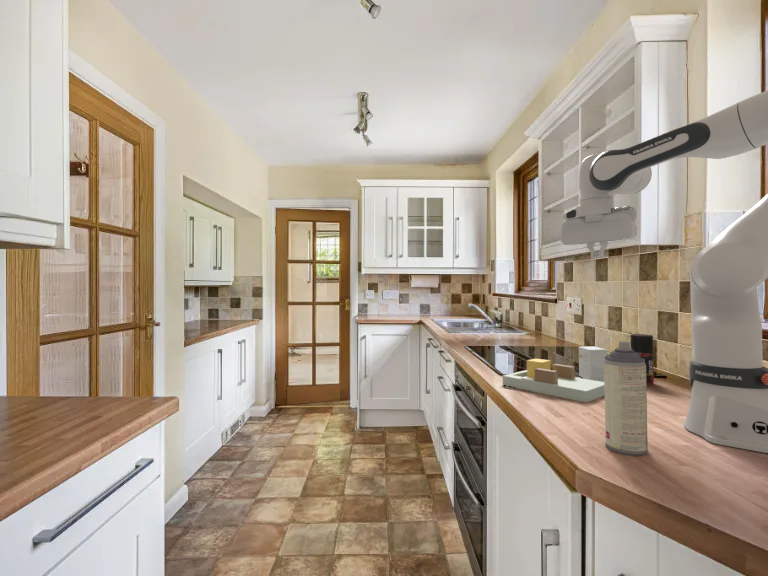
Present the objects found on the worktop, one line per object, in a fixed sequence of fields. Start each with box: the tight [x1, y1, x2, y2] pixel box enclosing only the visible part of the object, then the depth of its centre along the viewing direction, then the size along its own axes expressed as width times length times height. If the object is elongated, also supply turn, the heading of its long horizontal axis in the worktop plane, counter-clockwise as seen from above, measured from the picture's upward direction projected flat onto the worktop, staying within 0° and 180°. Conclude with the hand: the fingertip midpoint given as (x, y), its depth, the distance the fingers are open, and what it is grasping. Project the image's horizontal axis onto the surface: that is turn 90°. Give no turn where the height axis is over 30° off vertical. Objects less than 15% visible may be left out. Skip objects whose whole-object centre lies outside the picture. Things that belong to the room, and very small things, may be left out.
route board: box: [502, 363, 605, 404], centre depth 121 cm, size 26×14×6 cm, turn 38°
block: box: [526, 358, 552, 378], centre depth 125 cm, size 5×5×5 cm
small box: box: [578, 345, 608, 382], centre depth 132 cm, size 8×6×10 cm
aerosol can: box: [604, 341, 649, 457], centre depth 76 cm, size 7×7×20 cm
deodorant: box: [630, 333, 655, 386], centre depth 127 cm, size 6×6×15 cm
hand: (597, 257), depth 118 cm, fingers closed
